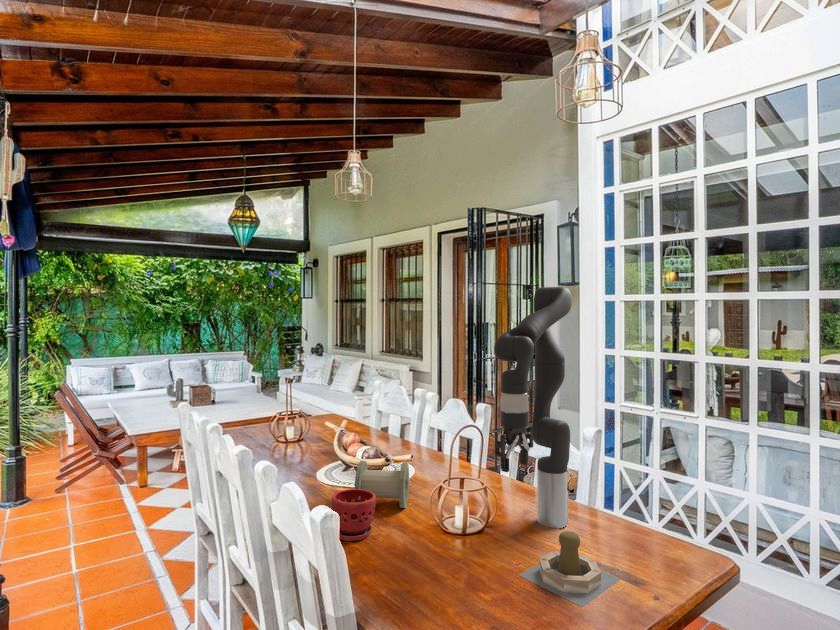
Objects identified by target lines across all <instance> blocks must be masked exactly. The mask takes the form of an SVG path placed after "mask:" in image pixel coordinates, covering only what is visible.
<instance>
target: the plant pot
mask: <svg viewBox="0 0 840 630" xmlns="http://www.w3.org/2000/svg"><path fill="white" fill-rule="evenodd" d="M358 497H361V499H358ZM365 499H366V500H365ZM376 499H377V498H376V496H375V494H374V493H372V492H370V491H368V490H363V489H355V488H349V489H343V490H339V491H337V492H335V493H334V494H333V495H332V497H331V511H332V510H333V511H335V512H337V513H338V514H339V516H340V538H339V540H343V541H348V542H350V541H351V542H352V541H361V540H363V539H365V538H367V537H369V535H370V534H371V533H372V531H373V528H372V525H371V524H372V522H373V519H374V518H375V510H376ZM352 500H354V502H352Z"/></svg>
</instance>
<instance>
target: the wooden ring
mask: <svg viewBox="0 0 840 630" xmlns="http://www.w3.org/2000/svg"><path fill="white" fill-rule="evenodd" d="M559 556H560V551H550V552H548V553H546V554H545V555H542V557H539V563H538V564H539V570H540V573H541V576H542V579H543V582H544V583H546V584H548V585H550V586H552V587H554V588H556V589H558V590H560V591H562V592H570V593H590V592H591V591H592V590H594V589H595V588H597V587H598V586H600V585H601V571H602V570H601V571H600V568H599V566H598V563H597V562H596V560H595V559H592V558H589V557H587V556H585V555H582V554H580V553H579V561H580V569H581V571H583V572H585V573H587V574H585V575H584V576H567V575H564V574H561V573H559V572H557V571H555V570H553V569H554V568H555V567H558V563H559Z"/></svg>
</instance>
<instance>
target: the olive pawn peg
mask: <svg viewBox="0 0 840 630" xmlns="http://www.w3.org/2000/svg"><path fill="white" fill-rule="evenodd" d="M558 542H559V545H560V551H559V552H560V556H559V563H558V570H557V572H559V573H561V574H564V575H567V576H581V569H580V561H579V554H580V553H579V547H580V546H581V538H580V536H579V534H578V533H576V532H574V531H571V530H570V531H569V530H564V531H562V532H560V534H559V535H558Z"/></svg>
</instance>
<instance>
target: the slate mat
mask: <svg viewBox="0 0 840 630" xmlns="http://www.w3.org/2000/svg"><path fill="white" fill-rule="evenodd" d="M553 570H555V571H557V570H558V567H555V568H554V569H553ZM600 571H601V585H600V586H598V587H597V588H595V589H594V590H592V591H591V592H590V593H570V592H562V591H560V590H558V589H556V588H554V587H552V586H550V585H548V584H546V583H544V582H543V579H542V576H541V573H540V570H539V563H538V564H536V565H534V566H532V567H531V568H529V569H527V570H525V571H523V572H522V573H520V574H518V576H519V577H520V578H524V579H525V580H527V581H529V582H531V583H533V584H535V585H538V586H539V587H541V588H543V589H545V590H546V591H549V592H551V593H553V594H554V595H557V596H559V597H561V598H563V599H565V600H567V601H568V602H571V603H573V604H575V605H577V606H579V607H581V608H584V607H585V606H587V604H589V603H590V602H591V601H593V600H595V599H596V598H597V597H599V596H600V595H601V594H602V593H605V591H607V590H608V589H609V588H611V587H613V586H614V585H615V584H617V582H619V581H621V578H620V577H617V576H615V575H613V574H611V573H608V572H606V571H604V570H600ZM585 574H587V573H585V572H583V571H581V576H584V575H585Z"/></svg>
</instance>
